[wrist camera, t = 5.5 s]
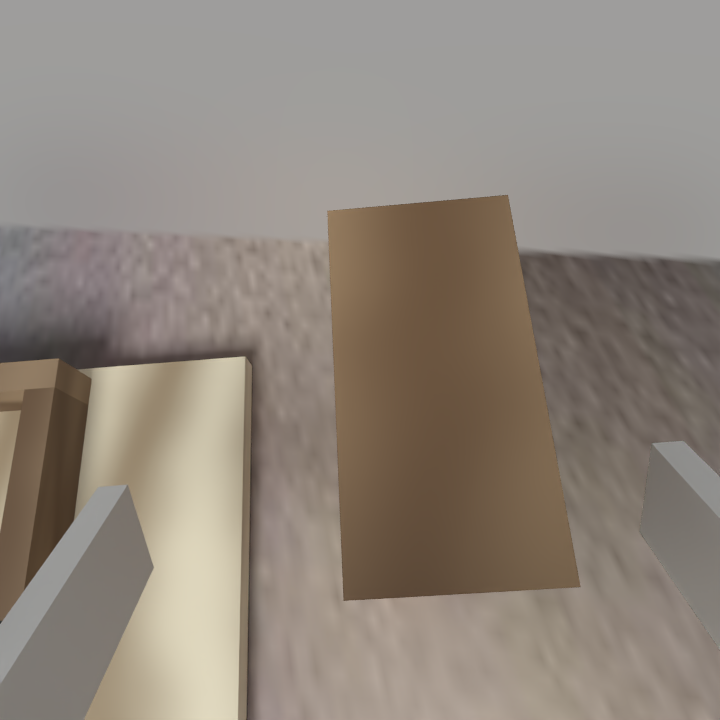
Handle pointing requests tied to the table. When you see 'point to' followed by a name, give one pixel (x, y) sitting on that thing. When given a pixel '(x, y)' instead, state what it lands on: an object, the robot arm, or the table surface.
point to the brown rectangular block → (441, 407)
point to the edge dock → (142, 515)
